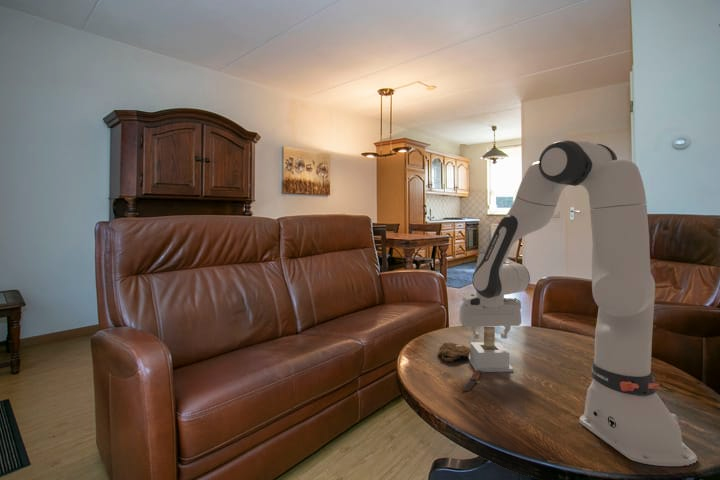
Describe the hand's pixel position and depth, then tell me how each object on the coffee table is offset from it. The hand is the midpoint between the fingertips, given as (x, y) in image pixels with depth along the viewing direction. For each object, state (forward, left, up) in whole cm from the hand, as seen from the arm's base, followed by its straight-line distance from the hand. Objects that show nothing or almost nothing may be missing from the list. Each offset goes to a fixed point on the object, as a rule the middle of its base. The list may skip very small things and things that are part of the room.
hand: (489, 338), depth 124 cm
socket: (0, 0, -9) cm, 9 cm away
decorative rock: (+8, +10, -10) cm, 16 cm away
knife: (-14, +9, -10) cm, 19 cm away
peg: (0, 0, -8) cm, 8 cm away
